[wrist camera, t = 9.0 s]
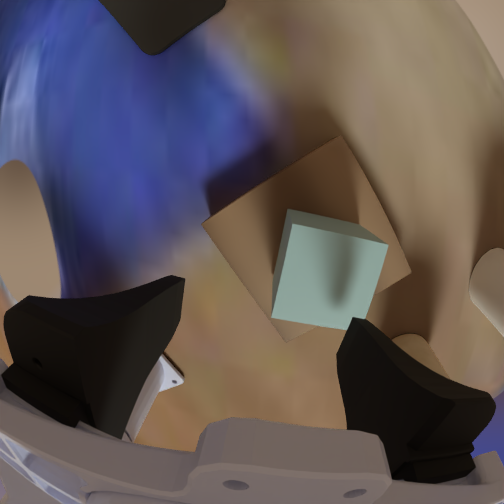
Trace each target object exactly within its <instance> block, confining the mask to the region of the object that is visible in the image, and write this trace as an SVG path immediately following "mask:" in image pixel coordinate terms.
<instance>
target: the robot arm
mask: <svg viewBox="0 0 504 504" xmlns="http://www.w3.org/2000/svg"><path fill="white" fill-rule="evenodd" d="M184 285H185V278H181V277H177V276H173V275H170V276H166V277H163V278H161V279H158V280H155V281H153V282H150V283H147V284H144V285H142V286H139V287H135V288H132V289H129V290H126V291H123V292H119V293H115V294H110V295H104V296H98V297H88V298H76V299H60V298H46V297H37V296H30V295H29V296H27V297H26V298H24V299H23V300H21V301H20V302H19V303H17V304H16V305H14V306H13V307H12V308H10V309H9V310H8V311H6V313H5V315H4V331H5V336H6V339H7V343H8V346H9V349H10V352H11V356H12V359H13V362H14V363H13V364H12V365H11V366H10V367H9V368H8V366H7V365H6V364H5V362H4V361H3V360H2V359H0V479H1V481H2V483H3V486H4V488H5V490H6V494H5V495H4V496H3V498H2V499H1V501H0V504H503V503H504V467H503V464H502V462H501V460H500V458H499V456H498V454H497V452H496V451H492V452H488V453H484V454H481V455H478V456H476V457H475V458H473V459H472V456H471V454H470V453H471V452H473V451H474V446H473V444H472V442H473V441H474V440H475V439H476V438H477V436H478V435H479V434H480V433H481V432H482V431H483V430H484V428H485V427H486V426H487V425H488V423H489V422H490V421H491V419H492V417H493V415H494V413H495V409H496V404H495V402H494V400H493V398H492V397H491V395H490V394H489V393H488V392H485V391H481V390H478V389H474V388H471V387H468V386H465V385H462V384H460V383H457V382H455V381H452V380H450V379H448V378H446V377H444V376H442V375H440V374H438V373H436V372H434V371H433V370H431V369H429V368H428V367H426V366H424V365H423V364H421V363H420V362H418V361H417V360H415V359H414V358H413V357H411V356H410V355H409V354H407V353H406V352H405V351H404V350H402V349H401V348H400V347H399V346H397V345H396V344H395V343H394V342H393V341H392V340H390V339H389V338H388V337H387V336H386V335H385V334H384V333H382V332H381V331H380V330H379V329H378V328H377V327H375V326H374V325H373V324H372V323H370V322H369V321H367V320H366V319H362V318H356V317H352V320H351V322H350V325H349V327H348V329H347V332H346V334H345V336H344V339H343V341H342V343H341V345H340V348H339V350H338V352H337V354H336V356H337V374H338V379H339V384H340V389H341V394H342V398H343V403H344V408H345V413H346V421H347V430H342V429H329V428H318V427H309V426H301V425H293V424H286V423H280V422H273V421H267V420H262V419H256V418H235V417H232V418H228V419H224V420H221V421H217V422H214V423H210V424H208V426H207V427H206V428H205V429H204V431H203V432H202V433H201V434H200V437H199V441H198V444H197V448H196V451H195V452H188V451H179V450H172V449H165V448H158V447H152V446H146V445H141V444H135V443H133V442H134V440H135V438H136V436H137V434H138V432H139V430H140V428H141V426H142V424H143V422H144V420H145V418H146V416H147V414H148V412H149V410H150V408H151V406H152V404H153V402H154V400H155V398H156V396H157V394H158V392H160V391H163V390H166V389H169V388H172V387H174V386H177V385H180V384H182V383H183V382H184V377H183V376H182V375H181V374H180V373H179V372H178V371H177V369H176V368H175V367H174V366H173V365H172V364H171V363H170V362H169V361H168V359H167V358H166V357H165V356H164V355H163V354H162V353H163V352H164V350H165V348H166V347H167V345H168V344H169V342H170V340H171V339H172V337H173V335H174V333H175V331H176V328H177V326H178V324H179V321H180V318H181V309H182V301H183V293H184ZM174 380H176V381H174Z"/></svg>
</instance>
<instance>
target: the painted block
mask: <svg viewBox="0 0 504 504" xmlns="http://www.w3.org/2000/svg"><path fill="white" fill-rule="evenodd" d="M387 249H388V244H387V243H385V242H384V241H383V240H381V239H380V238H378V237H377V236H375V235H374V234H373V233H371V232H370V231H368V230H367V229H365V228H364V227H362V226H361V225H360V224H355V223H351V222H347V221H343V220H338V219H334V218H329V217H325V216H320V215H316V214H311V213H306V212H302V211H297V210H292V209H287V214H286V219H285V224H284V229H283V233H282V238H281V243H280V248H279V252H278V257H277V262H276V266H275V271H274V275H273V281H272V310H271V318H276V319H281V320H287V321H293V322H299V323H305V324H311V325H317V326H323V327H330V328H336V329H343V330H347V329H348V327H349V325H350V322H351V320H352V317H356V318H362V319H365V317H366V314H367V312H368V309H369V306H370V303H371V300H372V297H373V294H374V291H375V288H376V285H377V282H378V279H379V276H380V273H381V269H382V266H383V263H384V259H385V256H386V253H387Z"/></svg>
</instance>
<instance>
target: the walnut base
mask: <svg viewBox="0 0 504 504" xmlns="http://www.w3.org/2000/svg"><path fill="white" fill-rule="evenodd" d="M287 209H292V210H297V211H302V212H306V213H311V214H316V215H320V216H325V217H329V218H334V219H338V220H343V221H347V222H351V223H355V224H360V225H361V226H362V227H364V228H365V229H367V230H368V231H370V232H371V233H373V234H374V235H375V236H377V237H378V238H380V239H381V240H383V241H384V242H385V243H387V244H388V249H387V253H386V256H385V259H384V263H383V266H382V269H381V273H380V276H379V279H378V282H377V285H376V288H375V291H374V294H373V296H374V295H376V294H378V293H379V292H381V291H383V290H384V289H386V288H388V287H389V286H391V285H392V284H394V283H396V282H397V281H399V280H401V279H402V278H404V277H405V276H407V275H408V274H410V273H412V271H411V269H410V267H409V264H408V262H407V260H406V257H405V255H404V253H403V250H402V248H401V246H400V244H399V241H398V239H397V237H396V235H395V233H394V230H393V228H392V226H391V224H390V222H389V220H388V218H387V216H386V214H385V212H384V210H383V208H382V206H381V204H380V202H379V200H378V198H377V196H376V194H375V192H374V191H373V189H372V187H371V185H370V183H369V181H368V179H367V178H366V176H365V174H364V172H363V171H362V169H361V167H360V165H359V164H358V162H357V160H356V158H355V157H354V155H353V153H352V152H351V150H350V148H349V147H348V145H347V143H346V142H345V140H344V139H343V137H342V135H341V136H338V137H336V138H333V139H332V140H330V141H328V142H327V143H325V144H323V145H321V146H320V147H318V148H316V149H315V150H313V151H311V152H310V153H308V154H306V155H305V156H303V157H302V158H300V159H298V160H297V161H295V162H293V163H292V164H290V165H289V166H287V167H285V168H284V169H282V170H281V171H279V172H277V173H276V174H274V175H273V176H271V177H269V178H268V179H266V180H265V181H263V182H262V183H260V184H258V185H257V186H255V187H254V188H252V189H251V190H249V191H248V192H246V193H245V194H243V195H242V196H240V197H238V198H237V199H235V200H234V201H232V202H231V203H229V204H228V205H226V206H225V207H223V208H222V209H220V210H219V211H217V212H216V213H215V214H213V215H212V216H210V217H209V218H208V219H207V220H205V221H204V222H203V223H202V224H201V225H202V226H203V228H204V229H205V231H206V232H207V234H208V235H209V236H210V238H211V239H212V241H213V242H214V244H215V245H216V246H217V248H218V249H219V251H220V252H221V254H222V255H223V256H224V258H225V259H226V261H227V262H228V263H229V265H230V266H231V268H232V269H233V270H234V272H235V273H236V275H237V276H238V278H239V279H240V280H241V282H242V283H243V284H244V286H245V287H246V289H247V290H248V291H249V293H250V294H251V296H252V297H253V298H254V300H255V301H256V303H257V304H258V305H259V307H260V308H261V309H262V311H263V312H264V314H265V315H266V316H267V318H268V319H269V320H270V322H271V323H272V324H273V326H274V327H275V329H276V330H277V331H278V333H279V334H280V335H281V337H282V338H283V339H284V341H285V342H288V341H290V340H292V339H294V338H296V337H298V336H300V335H302V334H304V333H306V332H308V331H310V330H312V329H314V328H316V327H318V326H317V325H311V324H305V323H299V322H293V321H287V320H281V319H276V318H271V310H272V281H273V275H274V271H275V266H276V262H277V257H278V252H279V248H280V243H281V238H282V233H283V229H284V224H285V219H286V214H287Z"/></svg>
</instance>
